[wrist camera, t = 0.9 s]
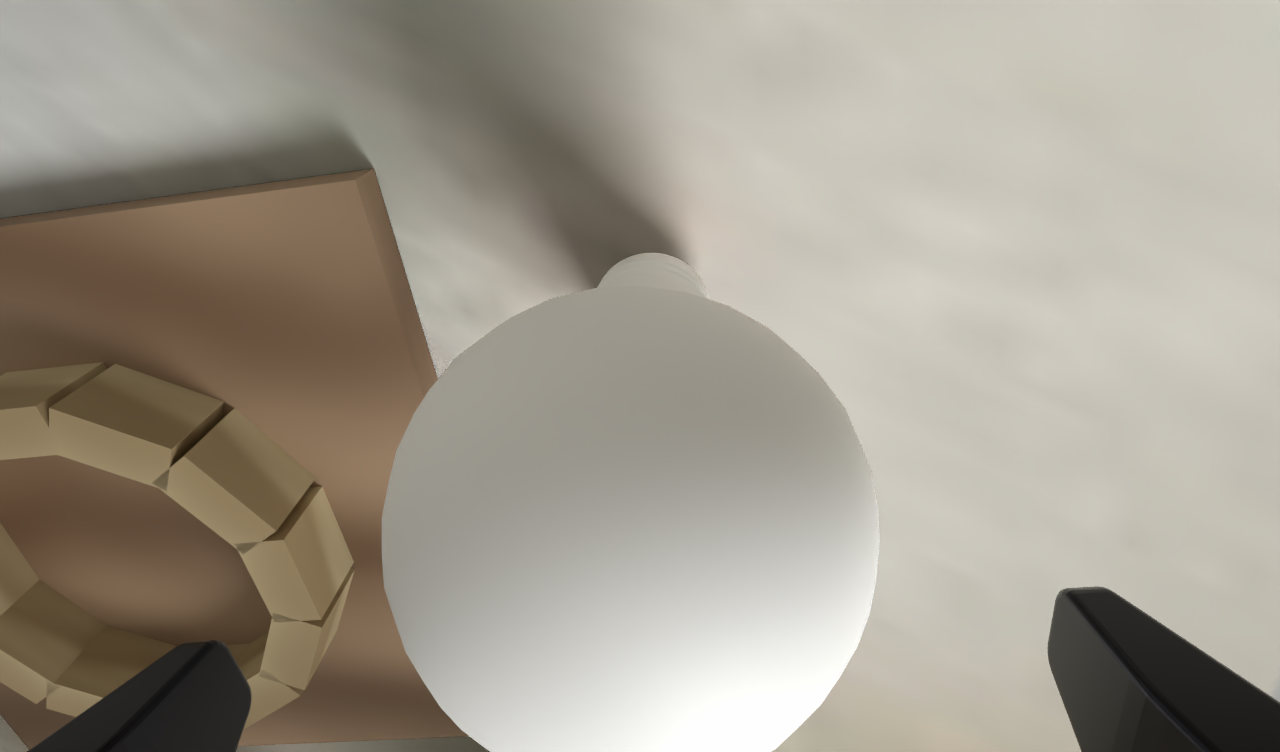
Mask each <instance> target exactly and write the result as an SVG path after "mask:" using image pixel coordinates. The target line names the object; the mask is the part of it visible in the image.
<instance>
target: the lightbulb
mask: <svg viewBox="0 0 1280 752" xmlns="http://www.w3.org/2000/svg"><path fill="white" fill-rule="evenodd" d="M879 547H880V536H879V517H878V507H877V501H876V495H875V489H874V483H873V477H872V471H871V469H870V466H869V464H868V461H867V459H866V456H865V453H864V451H863V448H862V446H861V444H860V441H859V439H858V437H857V434H856V432H855V430H854V428H853V425H852V423H851V421H850V418H849V416H848V414H847V411H846V409H845V408H844V406H843V405H842V404H841V402H840V401H839V400H838V398H837V397H836V396H835V394H834V393H833V392H832V390H831V389H830V388H829V386H828V385H827V384H826V382H825V381H824V380H823V378H822V377H821V376H820V374H819V373H818V372H817V371H816V370H815V369H814V368H813V367H812V366H811V365H810V364H809V363H808V362H807V361H806V360H805V359H804V358H803V357H802V356H801V355H800V354H798V353H797V352H796V351H795V350H794V349H793V348H791V347H790V346H789V345H788V344H787V343H786V342H784V341H783V340H782V339H781V338H780V337H779V336H777V335H776V334H775V333H774V332H773V331H772V330H770V329H769V328H768V327H766V326H764V325H763V324H761V323H759V322H757V321H755V320H754V319H752V318H750V317H748V316H746V315H745V314H743V313H741V312H739V311H737V310H736V309H734V308H732V307H730V306H727V305H724V304H721V303H718V302H715V301H712V300H710V298H709V296H708V292H707V289H706V286H705V284H704V282H703V280H702V279H701V278H700V276H699V275H698V274H697V272H696V271H695V270H694V269H693V268H691V267H690V266H689V265H688V264H687V263H685V262H683V261H681V260H680V259H678V258H676V257H673V256H670V255H667V254H661V253H641V254H637V255H633V256H630V257H628V258H626V259H623V260H621V261H620V262H618V263H617V264H616V265H614V266H613V267H612V268H611V269H610V270H609V271H608V272H607V273H606V274H605V275H604V277H603V279H602V280H601V282H600V283H599V285H598V287H597V288H593V289H589V290H585V291H581V292H577V293H573V294H569V295H565V296H561V297H557V298H553V299H549V300H547V301H545V302H543V303H541V304H539V305H537V306H534V307H532V308H530V309H528V310H526V311H524V312H522V313H520V314H517V315H515V316H513V317H511V318H510V319H508V320H507V321H505V322H504V323H502V324H501V325H499V326H498V327H496V328H495V329H493V330H492V331H490V332H489V333H488V334H486V335H485V336H484V337H483V338H481V339H480V340H479V341H477V342H476V343H475V344H473V345H472V346H471V347H469V348H468V349H467V350H465V351H464V352H463V353H461V354H460V355H459V356H458V357H456V358H455V359H454V360H453V362H452V363H451V364H450V365H449V366H448V368H447V369H446V370H445V371H444V373H443V374H442V375H441V376H440V377H439V379H438V380H437V381H436V382H435V383H434V385H433V386H432V387H431V388H430V389H429V391H428V392H427V394H426V395H425V397H424V399H423V400H422V402H421V403H420V405H419V406H418V408H417V410H416V411H415V413H414V415H413V417H412V419H411V421H410V423H409V425H408V427H407V429H406V431H405V433H404V436H403V438H402V440H401V442H400V444H399V446H398V448H397V450H396V454H395V458H394V462H393V466H392V470H391V474H390V478H389V483H388V488H387V493H386V498H385V503H384V509H383V514H382V565H383V580H384V589H385V592H386V595H387V598H388V601H389V604H390V607H391V611H392V614H393V617H394V620H395V623H396V626H397V629H398V631H399V634H400V637H401V640H402V643H403V646H404V649H405V652H406V654H407V655H408V657H409V659H410V660H411V662H412V664H413V665H414V667H415V669H416V670H417V672H418V674H419V675H420V677H421V679H422V680H423V682H424V683H425V685H426V686H427V688H428V689H429V691H430V693H431V694H432V696H433V697H434V699H435V700H436V702H437V703H438V705H439V706H440V707H441V709H442V710H443V711H444V712H445V713H446V714H447V715H448V716H449V717H450V718H451V719H452V721H453V722H454V723H455V724H456V725H457V726H458V727H459V728H460V729H461V730H462V731H463V732H465V733H466V734H467V735H468V736H470V737H471V738H472V739H474V740H475V741H476V742H478V743H479V744H480V745H481V746H483V747H484V748H485V749H487V750H489V751H490V752H771V751H773V750H774V749H776V748H777V747H778V746H779V745H780V744H781V743H782V742H783V741H785V740H786V739H787V738H788V737H789V736H790V735H791V734H792V733H793V732H794V731H795V730H796V729H797V728H798V727H799V726H800V725H801V724H802V723H803V722H804V721H805V720H806V719H807V718H808V717H809V716H810V715H811V714H812V713H813V712H814V711H815V710H816V709H817V708H818V707H819V706H820V705H821V704H822V703H823V701H824V700H825V698H826V697H827V695H828V694H829V692H830V691H831V689H832V688H833V686H834V685H835V684H836V682H837V681H838V679H839V678H840V676H841V674H842V673H843V671H844V669H845V667H846V666H847V664H848V662H849V661H850V659H851V657H852V655H853V654H854V652H855V650H856V648H857V647H858V644H859V641H860V639H861V636H862V633H863V630H864V628H865V625H866V622H867V620H868V617H869V614H870V610H871V605H872V600H873V594H874V589H875V584H876V577H877V567H878V557H879Z"/></svg>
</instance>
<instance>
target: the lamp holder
mask: <svg viewBox="0 0 1280 752" xmlns="http://www.w3.org/2000/svg"><path fill="white" fill-rule="evenodd" d="M437 380H438V379H437V375H436V372H435V369H434V365H433V362H432V359H431V355H430V352H429V349H428V346H427V342H426V339H425V336H424V332H423V329H422V326H421V322H420V319H419V316H418V312H417V309H416V306H415V303H414V299H413V296H412V293H411V289H410V286H409V283H408V279H407V276H406V273H405V270H404V266H403V263H402V260H401V256H400V253H399V250H398V246H397V243H396V240H395V237H394V233H393V230H392V227H391V223H390V220H389V217H388V213H387V210H386V207H385V204H384V200H383V197H382V194H381V190H380V187H379V184H378V180H377V177H376V174H375V170H374V169H367V170H360V171H352V172H345V173H337V174H330V175H322V176H315V177H307V178H300V179H292V180H285V181H277V182H270V183H263V184H255V185H248V186H240V187H233V188H225V189H218V190H210V191H203V192H195V193H188V194H180V195H173V196H165V197H158V198H150V199H143V200H135V201H128V202H120V203H113V204H105V205H98V206H90V207H83V208H75V209H68V210H60V211H53V212H45V213H38V214H30V215H23V216H15V217H8V218H0V714H1V716H2V717H3V718H4V719H5V721H6V722H7V723H8V724H9V725H10V727H11V728H12V729H13V730H14V732H15V733H16V734H17V735H18V736H19V738H20V739H21V740H22V741H23V742H24V744H25V745H26V746H27V747H28V749H29V750H30V749H32V748H33V747H34V746H36V745H37V744H39V743H40V742H42V741H43V740H44V739H46V738H47V737H49V736H50V735H51V734H53V733H54V732H56V731H57V730H59V729H60V728H61V727H63V726H64V725H66V724H67V723H68V722H70V721H71V720H73V719H74V718H76V717H77V716H78V715H80V714H81V713H83V712H84V711H85V710H87V709H88V708H90V707H91V706H93V705H94V704H95V703H97V702H98V701H100V700H101V699H102V698H104V697H105V696H107V695H108V694H110V693H111V692H112V691H114V690H115V689H117V688H118V687H119V686H121V685H122V684H124V683H125V682H127V681H128V680H129V679H131V678H132V677H134V676H135V675H136V674H138V673H139V672H141V671H142V670H143V669H145V668H146V667H148V666H149V665H151V664H152V663H153V662H155V661H156V660H158V659H159V658H160V657H162V656H163V655H165V654H166V653H168V652H169V651H170V650H172V649H173V648H175V647H176V646H178V645H179V644H182V643H184V642H188V641H200V640H220V641H222V642H223V643H225V644H226V645H227V647H228V648H229V650H230V651H231V653H232V655H233V657H234V659H235V660H236V662H237V664H238V666H239V667H240V669H241V671H242V673H243V675H244V676H245V678H246V680H247V682H248V684H249V686H250V689H251V694H252V701H251V708H250V711H249V715H248V717H247V720H246V723H245V726H244V729H243V732H242V735H241V738H240V741H239V743H238V746H252V745H276V744H299V743H323V742H346V741H369V740H393V739H416V738H440V737H463V736H468V735H467V734H466V733H465V732H463V731H462V730H461V729H460V728H459V727H458V726H457V725H456V724H455V723H454V722H453V721H452V719H451V718H450V717H449V716H448V715H447V714H446V713H445V712H444V711H443V710H442V709H441V707H440V706H439V705H438V703H437V702H436V700H435V699H434V697H433V696H432V694H431V693H430V691H429V689H428V688H427V686H426V685H425V683H424V682H423V680H422V679H421V677H420V675H419V674H418V672H417V670H416V669H415V667H414V665H413V664H412V662H411V660H410V659H409V657H408V655H407V654H406V652H405V649H404V646H403V643H402V640H401V637H400V634H399V631H398V629H397V626H396V623H395V620H394V617H393V614H392V611H391V607H390V604H389V601H388V598H387V595H386V592H385V589H384V580H383V565H382V514H383V509H384V503H385V498H386V493H387V488H388V483H389V478H390V474H391V470H392V466H393V462H394V458H395V454H396V450H397V448H398V446H399V444H400V442H401V440H402V438H403V436H404V433H405V431H406V429H407V427H408V425H409V423H410V421H411V419H412V417H413V415H414V413H415V411H416V410H417V408H418V406H419V405H420V403H421V402H422V400H423V399H424V397H425V395H426V394H427V392H428V391H429V389H430V388H431V387H432V386H433V385H434V383H435V382H436V381H437Z"/></svg>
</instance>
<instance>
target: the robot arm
mask: <svg viewBox="0 0 1280 752" xmlns="http://www.w3.org/2000/svg"><path fill="white" fill-rule="evenodd" d="M1048 659H1049V664H1050V668H1051V671H1052V674H1053V676H1054V679H1055V682H1056V684H1057V687H1058V690H1059V692H1060V695H1061V698H1062V701H1063V703H1064V706H1065V709H1066V711H1067V714H1068V717H1069V719H1070V722H1071V725H1072V727H1073V730H1074V733H1075V735H1076V738H1077V741H1078V743H1079V746H1080V749H1081V752H1280V702H1279V701H1277V700H1276V699H1274V698H1272V697H1271V696H1269V695H1268V694H1266V693H1265V692H1263V691H1262V690H1260V689H1259V688H1257V687H1256V686H1254V685H1253V684H1251V683H1250V682H1248V681H1247V680H1245V679H1244V678H1242V677H1241V676H1239V675H1238V674H1236V673H1235V672H1233V671H1232V670H1230V669H1229V668H1227V667H1226V666H1224V665H1223V664H1221V663H1220V662H1218V661H1217V660H1215V659H1214V658H1212V657H1211V656H1209V655H1208V654H1206V653H1205V652H1203V651H1202V650H1200V649H1199V648H1197V647H1196V646H1194V645H1193V644H1191V643H1190V642H1188V641H1187V640H1185V639H1184V638H1182V637H1181V636H1179V635H1178V634H1176V633H1175V632H1173V631H1172V630H1170V629H1169V628H1167V627H1166V626H1164V625H1163V624H1161V623H1160V622H1158V621H1157V620H1155V619H1154V618H1152V617H1151V616H1149V615H1148V614H1146V613H1145V612H1143V611H1142V610H1140V609H1139V608H1137V607H1136V606H1134V605H1133V604H1131V603H1130V602H1128V601H1126V600H1125V599H1123V598H1122V597H1120V596H1119V595H1117V594H1116V593H1114V592H1113V591H1111V590H1109V589H1106V588H1104V587H1082V588H1066V589H1063V590H1061V591H1060V592H1059V593H1058V595H1057V597H1056V600H1055V606H1054V612H1053V618H1052V623H1051V629H1050V635H1049V641H1048ZM251 701H252V694H251V689H250V686H249V684H248V682H247V680H246V678H245V676H244V675H243V673H242V671H241V669H240V667H239V666H238V664H237V662H236V660H235V659H234V657H233V655H232V653H231V651H230V650H229V648H228V647H227V645H226V644H225V643H223V642H222V641H220V640H200V641H188V642H184V643H182V644H179V645H178V646H176V647H175V648H173V649H172V650H170V651H169V652H168V653H166V654H165V655H163V656H162V657H160V658H159V659H158V660H156V661H155V662H153V663H152V664H151V665H149V666H148V667H146V668H145V669H143V670H142V671H141V672H139V673H138V674H136V675H135V676H134V677H132V678H131V679H129V680H128V681H127V682H125V683H124V684H122V685H121V686H119V687H118V688H117V689H115V690H114V691H112V692H111V693H110V694H108V695H107V696H105V697H104V698H102V699H101V700H100V701H98V702H97V703H95V704H94V705H93V706H91V707H90V708H88V709H87V710H85V711H84V712H83V713H81V714H80V715H78V716H77V717H76V718H74V719H73V720H71V721H70V722H68V723H67V724H66V725H64V726H63V727H61V728H60V729H59V730H57V731H56V732H54V733H53V734H51V735H50V736H49V737H47V738H46V739H44V740H43V741H42V742H40V743H39V744H37V745H36V746H34V747H33V748H32V749H30V750H29V751H27V752H236V749H237V746H238V743H239V741H240V738H241V735H242V732H243V729H244V726H245V723H246V720H247V717H248V715H249V711H250V708H251Z"/></svg>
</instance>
